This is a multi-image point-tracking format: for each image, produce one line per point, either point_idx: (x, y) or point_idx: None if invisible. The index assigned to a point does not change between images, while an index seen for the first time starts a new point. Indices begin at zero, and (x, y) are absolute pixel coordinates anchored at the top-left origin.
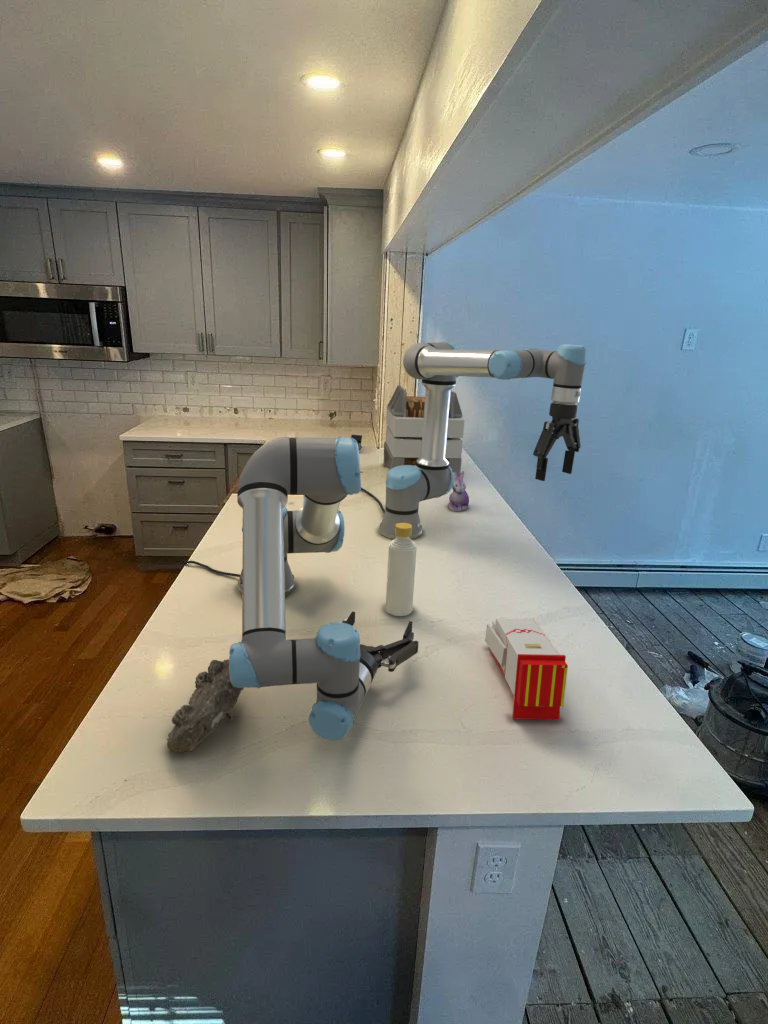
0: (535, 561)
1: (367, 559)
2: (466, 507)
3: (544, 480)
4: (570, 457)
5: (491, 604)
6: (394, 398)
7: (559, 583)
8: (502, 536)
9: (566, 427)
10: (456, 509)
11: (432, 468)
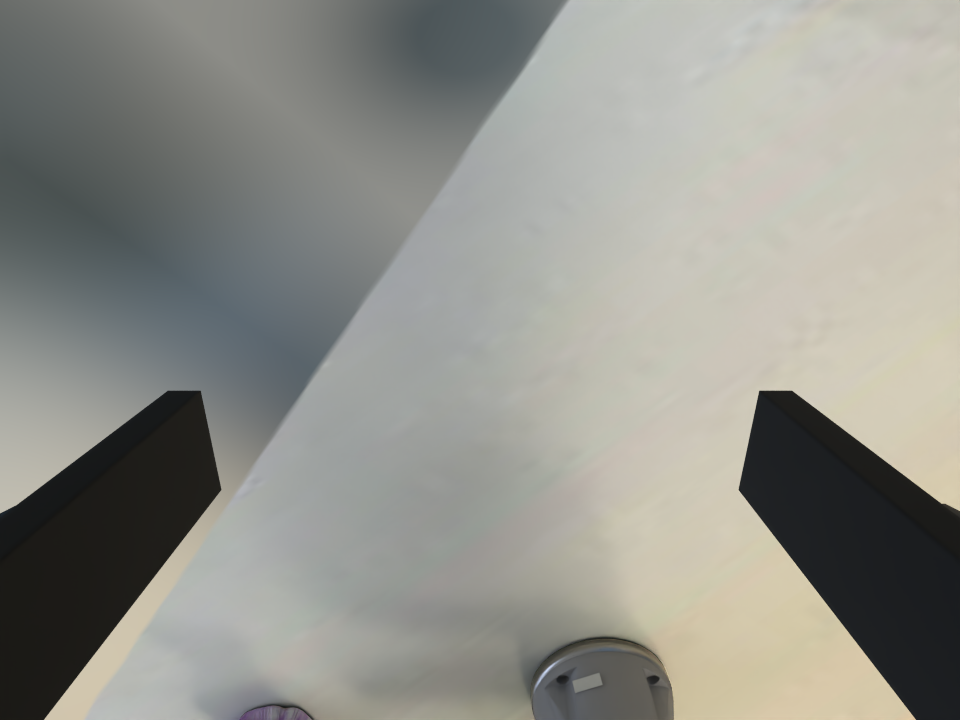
0: (406, 311)
1: None
2: (255, 714)
3: (768, 392)
4: (48, 568)
5: (850, 187)
6: None
7: (497, 130)
8: (329, 511)
9: None
10: (301, 718)
11: None
